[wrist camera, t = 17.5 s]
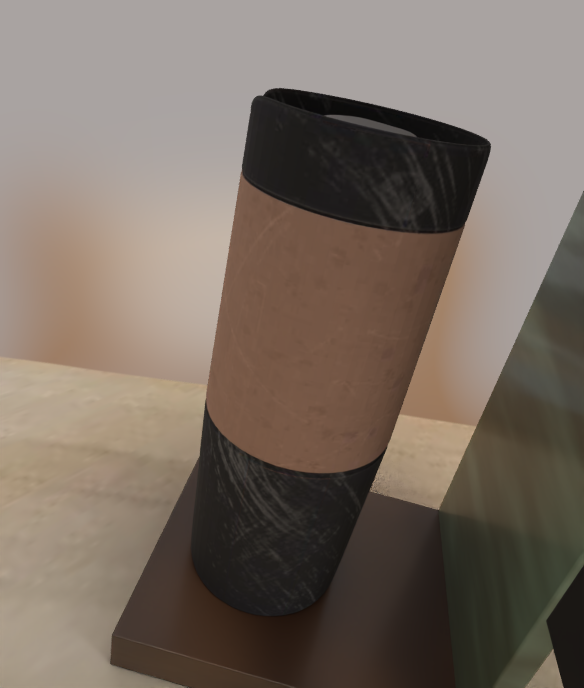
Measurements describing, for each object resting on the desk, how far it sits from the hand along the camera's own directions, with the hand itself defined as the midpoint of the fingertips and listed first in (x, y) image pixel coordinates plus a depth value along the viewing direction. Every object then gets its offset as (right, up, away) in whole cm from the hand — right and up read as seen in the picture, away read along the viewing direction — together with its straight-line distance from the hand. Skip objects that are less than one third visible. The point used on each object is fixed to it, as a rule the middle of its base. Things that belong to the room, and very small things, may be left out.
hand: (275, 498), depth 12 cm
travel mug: (-1, -7, +15) cm, 16 cm away
